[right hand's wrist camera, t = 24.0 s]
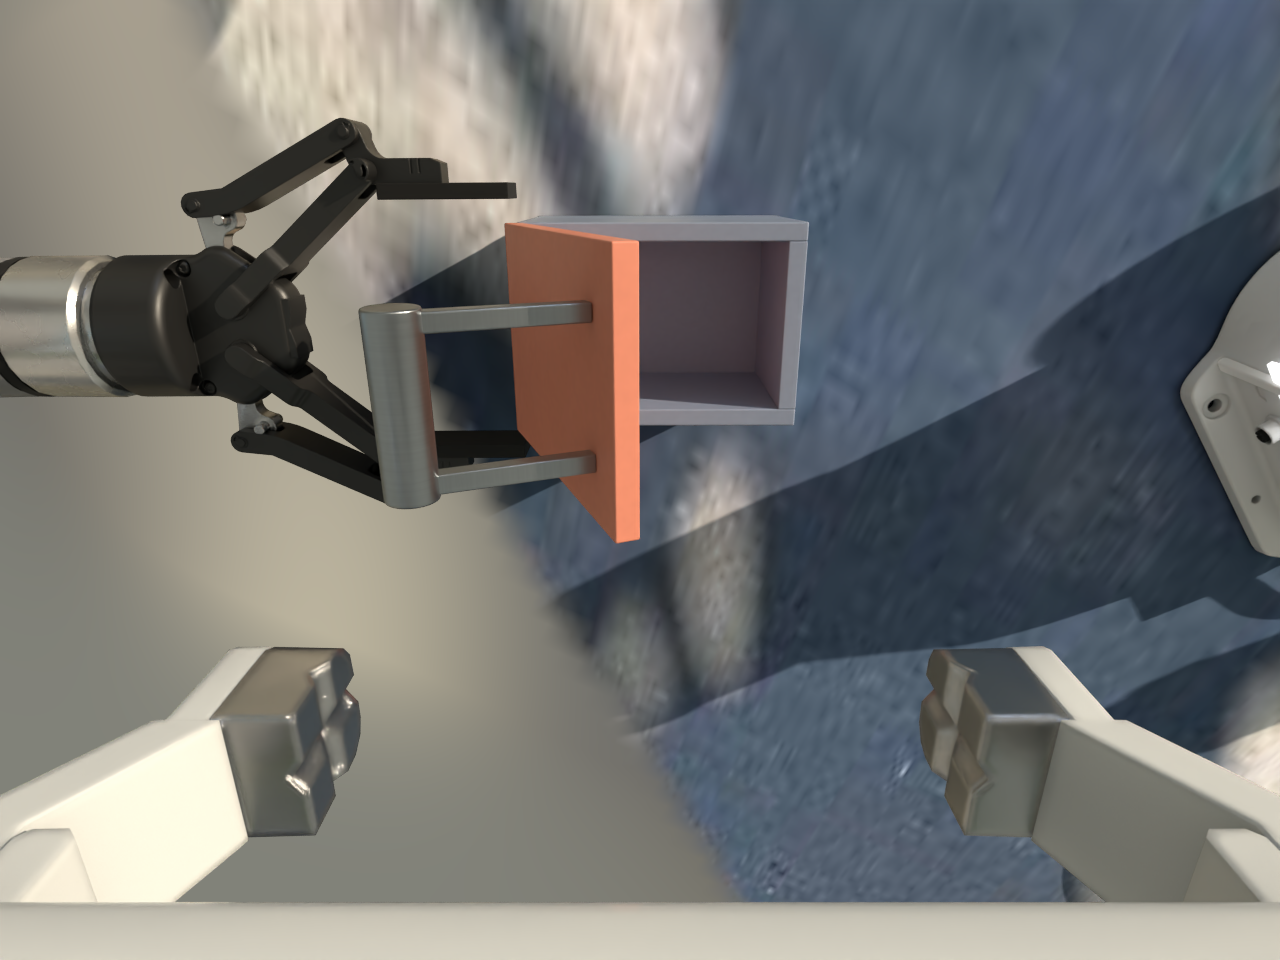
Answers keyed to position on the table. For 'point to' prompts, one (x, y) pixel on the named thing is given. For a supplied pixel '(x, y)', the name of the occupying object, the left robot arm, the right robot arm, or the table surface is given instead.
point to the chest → (713, 314)
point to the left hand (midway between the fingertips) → (521, 324)
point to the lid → (527, 377)
